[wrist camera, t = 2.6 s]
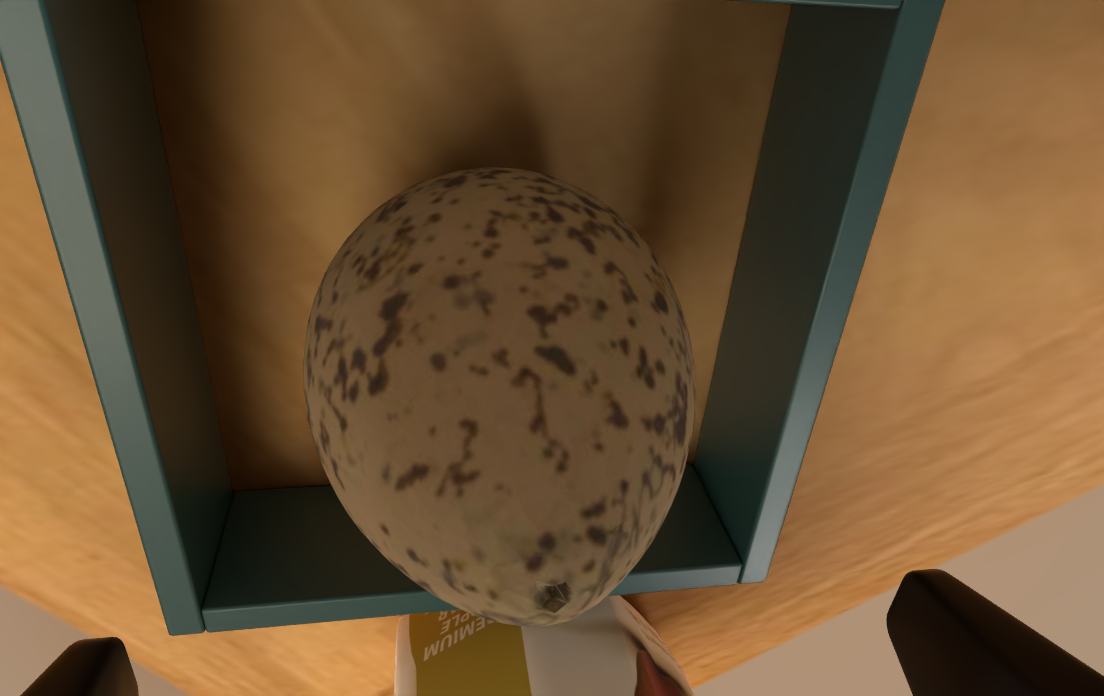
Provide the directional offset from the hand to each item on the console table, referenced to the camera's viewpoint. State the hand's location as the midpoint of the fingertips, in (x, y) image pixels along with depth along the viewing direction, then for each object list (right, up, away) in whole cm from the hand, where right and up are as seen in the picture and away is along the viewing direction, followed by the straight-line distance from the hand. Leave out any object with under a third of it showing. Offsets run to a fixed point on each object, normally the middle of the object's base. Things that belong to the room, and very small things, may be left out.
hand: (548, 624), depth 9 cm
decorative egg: (-2, +5, +10) cm, 11 cm away
